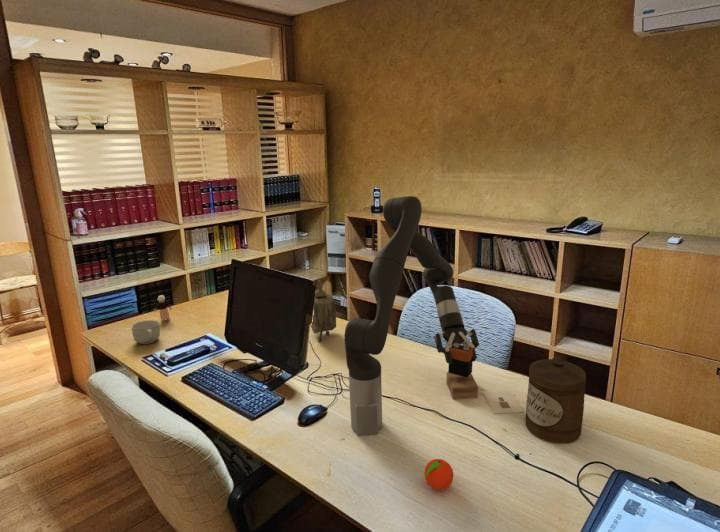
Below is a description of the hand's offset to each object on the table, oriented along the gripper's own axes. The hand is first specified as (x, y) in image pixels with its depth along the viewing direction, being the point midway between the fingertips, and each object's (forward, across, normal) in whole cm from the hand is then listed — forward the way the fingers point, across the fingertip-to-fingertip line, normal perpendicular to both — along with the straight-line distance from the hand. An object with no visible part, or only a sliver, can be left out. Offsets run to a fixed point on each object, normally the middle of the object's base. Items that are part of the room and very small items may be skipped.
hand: (462, 362), depth 153 cm
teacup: (-41, -112, +56) cm, 132 cm away
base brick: (+7, 0, +7) cm, 10 cm away
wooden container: (+25, +17, -10) cm, 32 cm away
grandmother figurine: (-58, -109, +73) cm, 144 cm away
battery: (+2, 0, +4) cm, 5 cm away
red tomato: (+35, -23, -20) cm, 47 cm away
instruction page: (+14, +10, 0) cm, 17 cm away
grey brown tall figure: (-32, -39, +47) cm, 69 cm away
